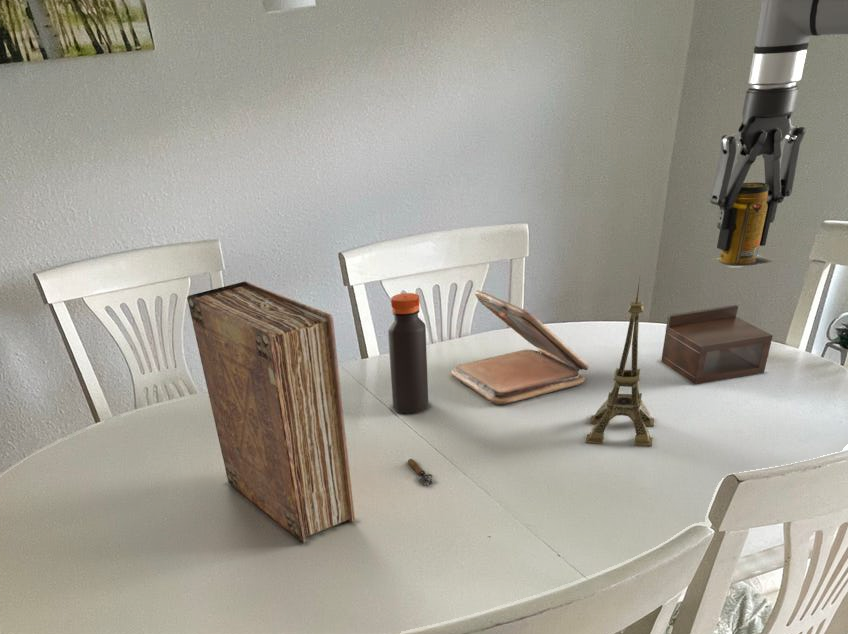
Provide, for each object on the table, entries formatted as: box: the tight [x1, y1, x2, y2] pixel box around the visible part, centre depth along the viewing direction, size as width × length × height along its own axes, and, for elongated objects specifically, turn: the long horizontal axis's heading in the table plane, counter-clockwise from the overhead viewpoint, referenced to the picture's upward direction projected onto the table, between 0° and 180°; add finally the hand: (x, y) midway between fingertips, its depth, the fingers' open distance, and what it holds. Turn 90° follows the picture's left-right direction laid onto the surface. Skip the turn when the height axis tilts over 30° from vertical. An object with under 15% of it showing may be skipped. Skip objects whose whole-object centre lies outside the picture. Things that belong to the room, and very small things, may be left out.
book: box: [186, 281, 356, 545], centre depth 114 cm, size 25×9×30 cm, turn 34°
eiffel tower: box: [585, 276, 655, 447], centre depth 125 cm, size 11×11×25 cm
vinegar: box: [387, 292, 429, 415], centre depth 142 cm, size 7×7×20 cm
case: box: [451, 290, 590, 405], centre depth 149 cm, size 20×21×16 cm
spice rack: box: [660, 304, 774, 385], centre depth 148 cm, size 13×14×9 cm
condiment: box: [709, 181, 776, 269], centre depth 134 cm, size 7×8×12 cm
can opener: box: [407, 458, 433, 487], centre depth 127 cm, size 9×2×1 cm, turn 14°
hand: (740, 246), depth 136 cm, fingers closed on condiment, 6 cm apart
